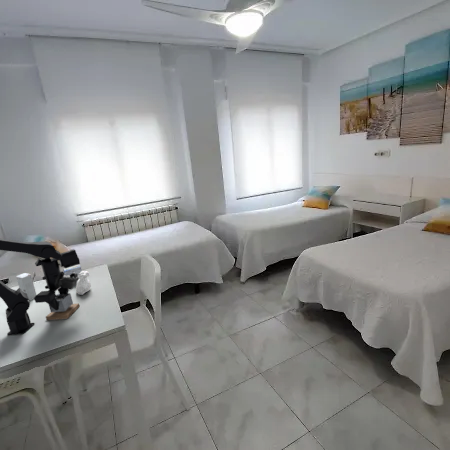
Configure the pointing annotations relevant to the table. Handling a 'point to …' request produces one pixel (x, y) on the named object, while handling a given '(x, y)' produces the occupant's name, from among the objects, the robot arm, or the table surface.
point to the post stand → (64, 314)
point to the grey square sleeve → (63, 303)
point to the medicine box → (72, 270)
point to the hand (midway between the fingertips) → (61, 305)
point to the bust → (83, 283)
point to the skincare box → (26, 285)
